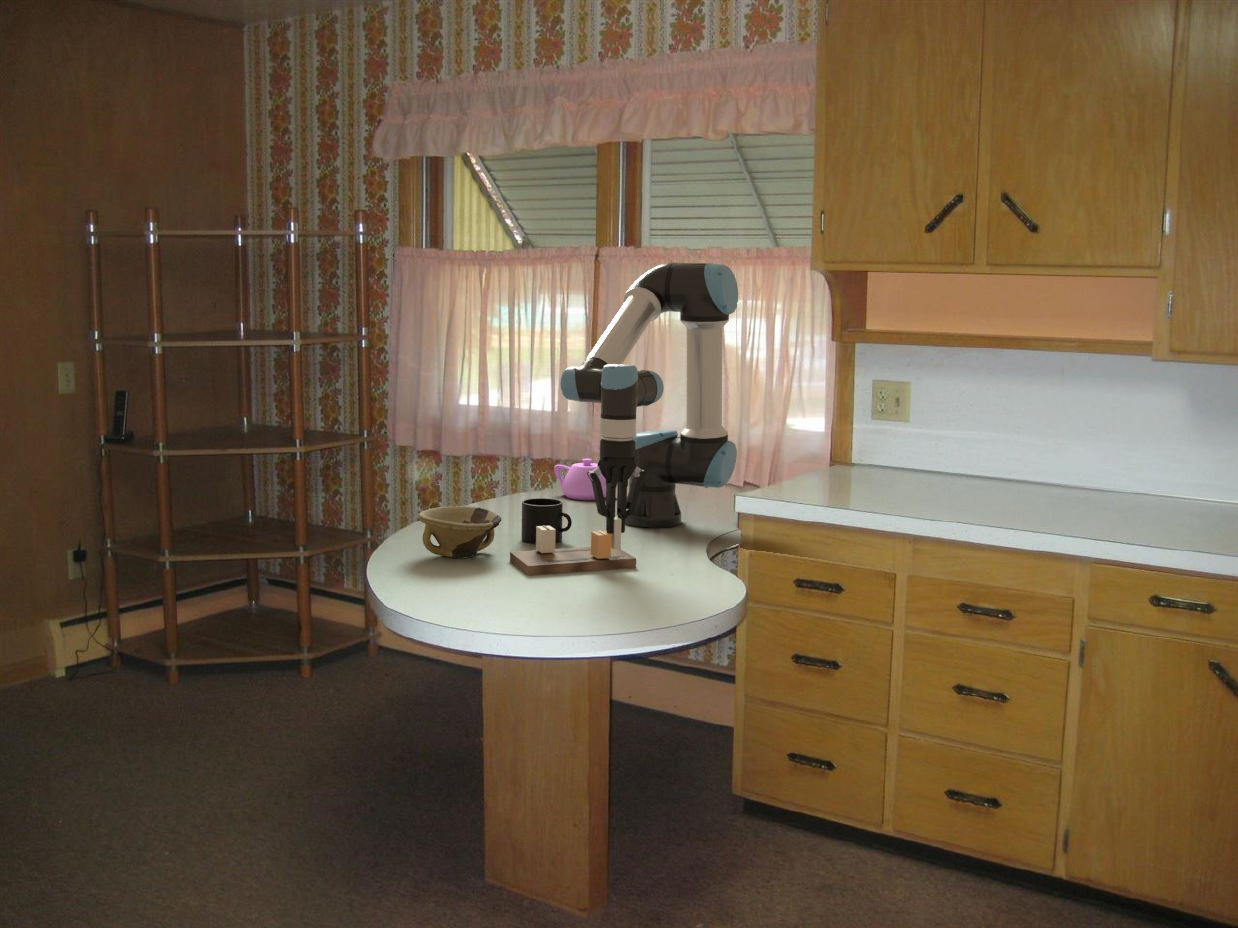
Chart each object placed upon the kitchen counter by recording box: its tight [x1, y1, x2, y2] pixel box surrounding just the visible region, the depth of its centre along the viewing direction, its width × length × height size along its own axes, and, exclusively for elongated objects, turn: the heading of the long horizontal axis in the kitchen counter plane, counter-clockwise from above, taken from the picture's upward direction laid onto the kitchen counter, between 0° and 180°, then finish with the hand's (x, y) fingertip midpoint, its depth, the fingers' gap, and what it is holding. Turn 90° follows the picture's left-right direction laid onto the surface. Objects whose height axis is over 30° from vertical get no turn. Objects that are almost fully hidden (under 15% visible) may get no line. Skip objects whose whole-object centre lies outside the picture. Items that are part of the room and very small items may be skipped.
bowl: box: [418, 505, 502, 559], centre depth 263 cm, size 18×18×10 cm
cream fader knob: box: [535, 525, 556, 553], centre depth 259 cm, size 3×4×5 cm
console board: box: [509, 546, 637, 576], centre depth 258 cm, size 24×13×2 cm, turn 112°
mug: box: [520, 497, 573, 545], centre depth 280 cm, size 9×12×9 cm
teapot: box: [553, 458, 606, 501], centre depth 336 cm, size 14×20×11 cm
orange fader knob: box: [590, 529, 611, 559], centre depth 256 cm, size 3×4×5 cm
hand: (615, 547), depth 257 cm, fingers closed
